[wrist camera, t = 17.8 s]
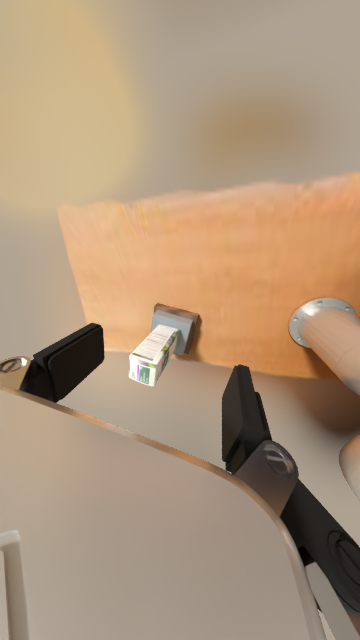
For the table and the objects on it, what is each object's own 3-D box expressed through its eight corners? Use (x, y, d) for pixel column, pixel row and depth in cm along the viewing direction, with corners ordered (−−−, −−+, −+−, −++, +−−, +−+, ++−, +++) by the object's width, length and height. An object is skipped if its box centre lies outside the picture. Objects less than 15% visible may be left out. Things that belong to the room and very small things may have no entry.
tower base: (199, 313, 44) (197, 317, 41) (190, 348, 49) (188, 353, 46) (158, 302, 46) (154, 305, 43) (154, 337, 51) (150, 342, 48)
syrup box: (176, 347, 43) (155, 388, 30) (156, 341, 44) (127, 379, 31) (179, 328, 40) (158, 365, 27) (158, 323, 41) (127, 355, 28)
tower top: (192, 320, 42) (190, 324, 39) (184, 350, 46) (182, 356, 44) (157, 309, 43) (153, 313, 41) (152, 339, 48) (148, 345, 45)
